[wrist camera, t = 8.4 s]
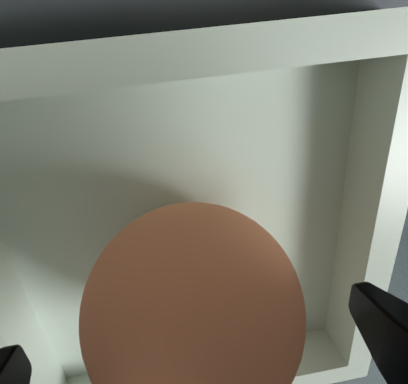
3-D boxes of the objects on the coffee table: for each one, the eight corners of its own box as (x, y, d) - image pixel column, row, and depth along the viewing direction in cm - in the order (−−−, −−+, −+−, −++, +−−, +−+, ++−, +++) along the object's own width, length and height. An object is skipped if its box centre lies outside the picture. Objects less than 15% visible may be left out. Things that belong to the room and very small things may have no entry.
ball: (263, 291, 13) (341, 467, 8) (119, 317, 12) (93, 528, 7) (262, 157, 10) (383, 285, 5) (78, 184, 10) (-15, 360, 4)
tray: (336, 328, 16) (366, 376, 13) (55, 382, 14) (36, 444, 12) (385, 11, 9) (458, 1, 7) (-112, 62, 8) (-214, 70, 6)
